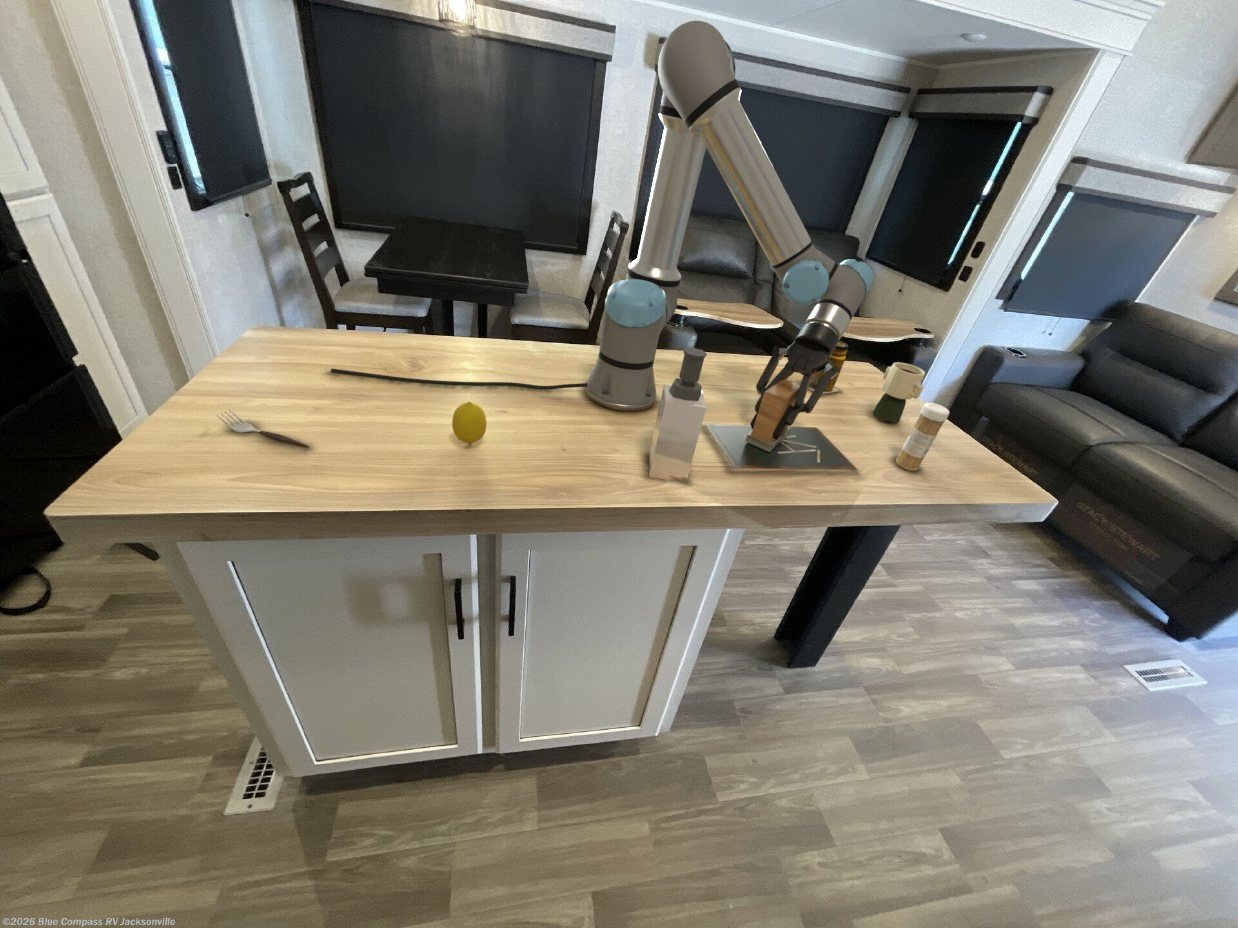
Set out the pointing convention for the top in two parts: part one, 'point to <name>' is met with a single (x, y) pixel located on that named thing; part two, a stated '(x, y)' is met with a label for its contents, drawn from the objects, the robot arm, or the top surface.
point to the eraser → (773, 414)
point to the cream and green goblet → (898, 390)
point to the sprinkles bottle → (922, 436)
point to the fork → (248, 428)
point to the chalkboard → (779, 449)
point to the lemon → (469, 422)
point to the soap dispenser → (679, 420)
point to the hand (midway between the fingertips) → (764, 431)
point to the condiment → (835, 361)
